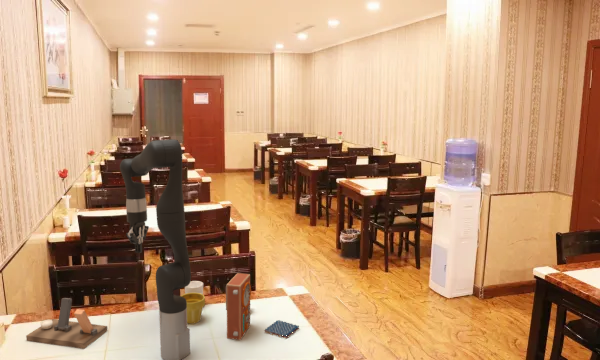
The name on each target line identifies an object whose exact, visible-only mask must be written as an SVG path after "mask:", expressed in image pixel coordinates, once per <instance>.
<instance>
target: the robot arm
mask: <svg viewBox="0 0 600 360" xmlns="http://www.w3.org/2000/svg"><path fill="white" fill-rule="evenodd" d="M162 168H163V169H164V168H169V173H168V174H169V175H168V180H167V183H166V184H165V185H166V186H165V188H164V190H163V191H162V193H161V195H160V197H159V199H158V201H157V203H156V207H155V212H156V213H155V214H156V221H157V222H156V223H157V228H158V230H159V233H161V234H162V236H163V237H164V239H165V240H166V241H167V242H168V244H169V245H170V248H171V250H172V252H173V257H174V261H173V262H170V263H166V264H163V265H160V266H158V267H157V269H156V271H155V286H156V299H157V302H158V310H159V311H158V312H159V313H158V314H159V334H160V335H159V339H160V357H161V359H163V360H184V358H186V357H187V356H188V355H190V354H191V341H190V340H191V335H190V334H191V333H190V331H191V330H190V328H188V323H187V301H186V299H185V298H184V297H181V295H176V294H174V291H176V290H179V289H183V288H185V287H186V286H188V285H189V283H190V281H191V280H192V271H191V269H192V268H191V263H190V259H189V258H190V257H189V251H188V245H187V243H188V242H187V235H186V234H187V233H186V216H185V215H186V214H185V202H184V195H183V194H184V192H183V149H182V146H181V142H180V141H179V140H178V139H158V140H157V139H156V140H152V141H150V142H148V143H147V144H146V145H145V146H144V148H143V150H142V151H141V153H140V154H137V155H136V156H135V157H132V158H125V159H122V160H121V161H120V164H119V171H120V174H121V176H122V178H123V182H124V185H125V197H126V202H125V208H126V222H127V223H129V231H128V232H126V233H125V237H127V238H128V241H129V242H130V244H134V251H135V253H136V254H141V253H142V252H143V243H144V241H145V240H146V239H147V234H148V231H149V226H148V225H146V222H147V221H148V209H147V208H148V207H147V199H146V185H145V183H143V182H140V181H133V178H134V177H144V176H147V175H148V174H149V172H150V171H152V170H153V169H162Z"/></svg>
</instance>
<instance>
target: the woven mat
mask: <svg viewBox="0 0 600 360" xmlns="http://www.w3.org/2000/svg"><path fill="white" fill-rule="evenodd" d="M299 327H300V325H297V324H294V323H290V322H287V321H283V320H280V319H279V320H276V321H275V322H274V321H273V323H272V324H271V325H269V326H268V327H266V328H265V329H264V330H263V331H264V333H265V332H266V334H267V333H268V334H270V333H272V334H271V336H274V335H276V336H277V335H278V338H282V337H283V339H284V338H286V339H288V338H289V337H290V336H291V335H293V334H294V333H295V332H296V331H297V330H299V329H300V328H299ZM292 332H293V333H292ZM273 334H274V335H273ZM282 335H283V336H282ZM286 335H287V336H286ZM280 336H282V337H280ZM288 336H289V337H288Z"/></svg>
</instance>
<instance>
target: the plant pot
mask: <svg viewBox="0 0 600 360" xmlns="http://www.w3.org/2000/svg"><path fill="white" fill-rule="evenodd" d="M180 296H181V297H184V298H185V299H186V301H187V325H188V324H190V325H192V324H193V325H194V324H196V323H199V322H200V321H201V319H202V315H203V313H202V312H203V308H204V306H205V304H206V297H205V295H204V293H203V294H200V293H186V294H185V293H183V294H181V295H180Z"/></svg>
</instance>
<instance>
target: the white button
mask: <svg viewBox="0 0 600 360" xmlns="http://www.w3.org/2000/svg"><path fill="white" fill-rule="evenodd" d="M40 327H41V329H49V328H51V327H53V322H52V319H45V320H42V321H41V322H40Z"/></svg>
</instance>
